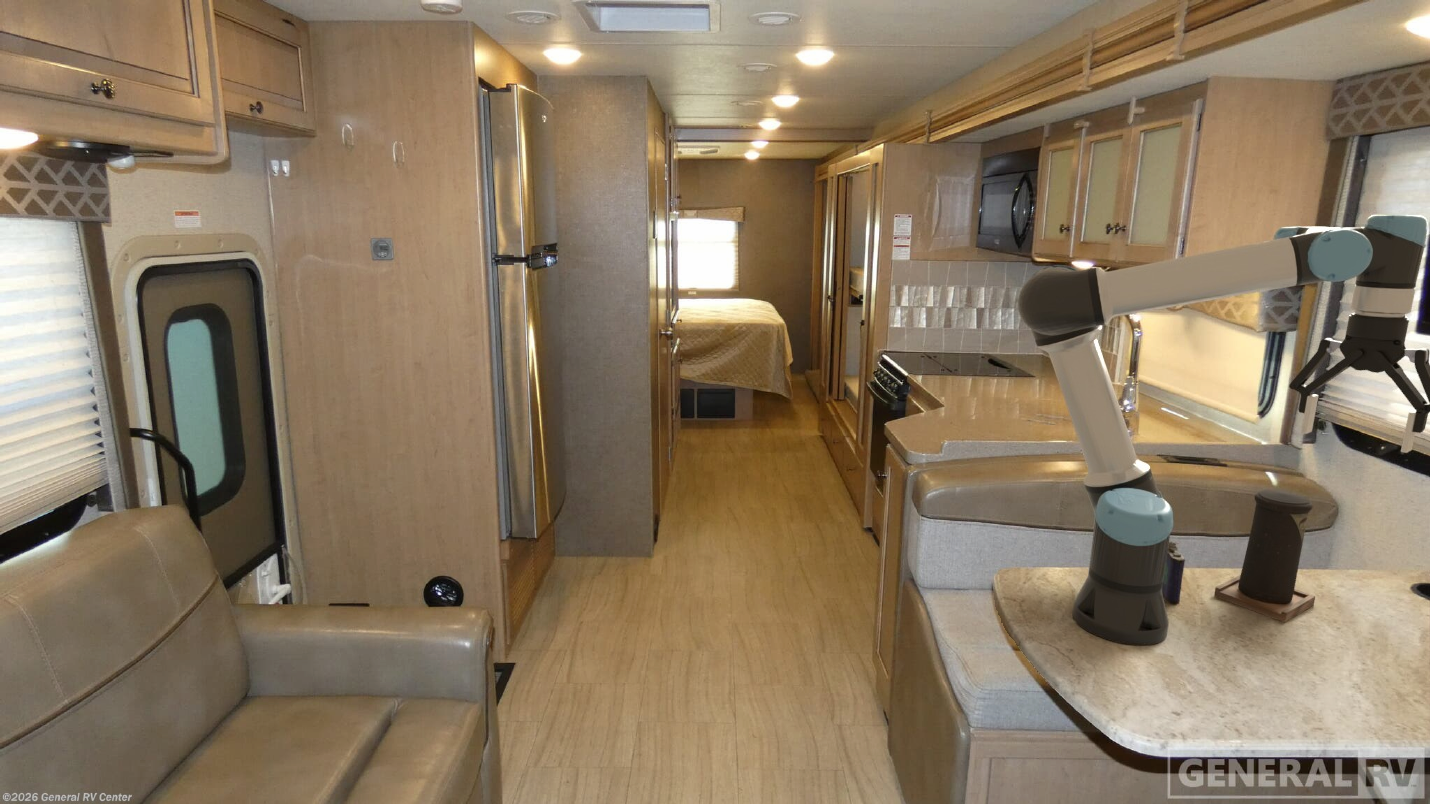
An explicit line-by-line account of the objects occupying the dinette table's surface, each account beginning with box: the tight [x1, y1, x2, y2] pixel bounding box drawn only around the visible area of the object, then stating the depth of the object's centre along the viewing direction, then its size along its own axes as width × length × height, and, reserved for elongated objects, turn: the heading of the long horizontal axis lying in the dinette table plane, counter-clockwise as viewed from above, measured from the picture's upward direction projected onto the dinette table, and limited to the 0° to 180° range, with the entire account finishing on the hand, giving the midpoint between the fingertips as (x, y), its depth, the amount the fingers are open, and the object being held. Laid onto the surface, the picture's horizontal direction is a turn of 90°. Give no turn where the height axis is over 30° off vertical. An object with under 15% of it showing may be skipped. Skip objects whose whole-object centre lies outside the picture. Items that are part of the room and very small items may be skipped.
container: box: [1238, 489, 1314, 603], centre depth 150 cm, size 9×9×20 cm
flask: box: [1162, 541, 1186, 605], centre depth 153 cm, size 9×3×11 cm, turn 175°
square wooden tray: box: [1213, 574, 1316, 623], centre depth 152 cm, size 12×12×2 cm
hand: (1354, 441), depth 134 cm, fingers open, 13 cm apart
